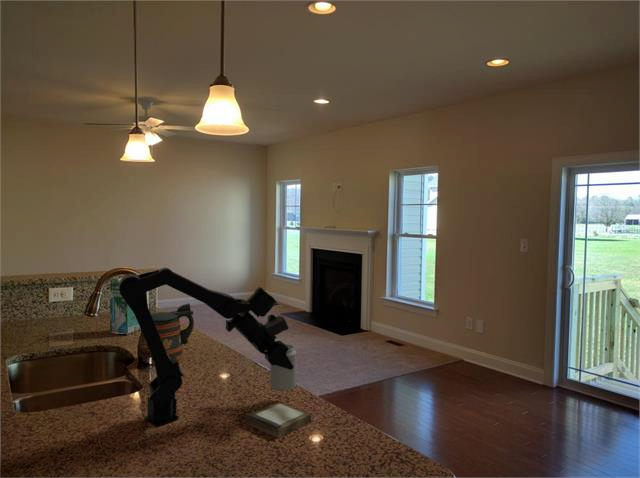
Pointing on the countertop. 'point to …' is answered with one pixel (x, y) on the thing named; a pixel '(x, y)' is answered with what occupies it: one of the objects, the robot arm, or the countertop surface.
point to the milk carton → (120, 312)
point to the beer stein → (173, 330)
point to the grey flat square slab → (278, 419)
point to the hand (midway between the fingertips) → (287, 364)
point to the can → (284, 373)
